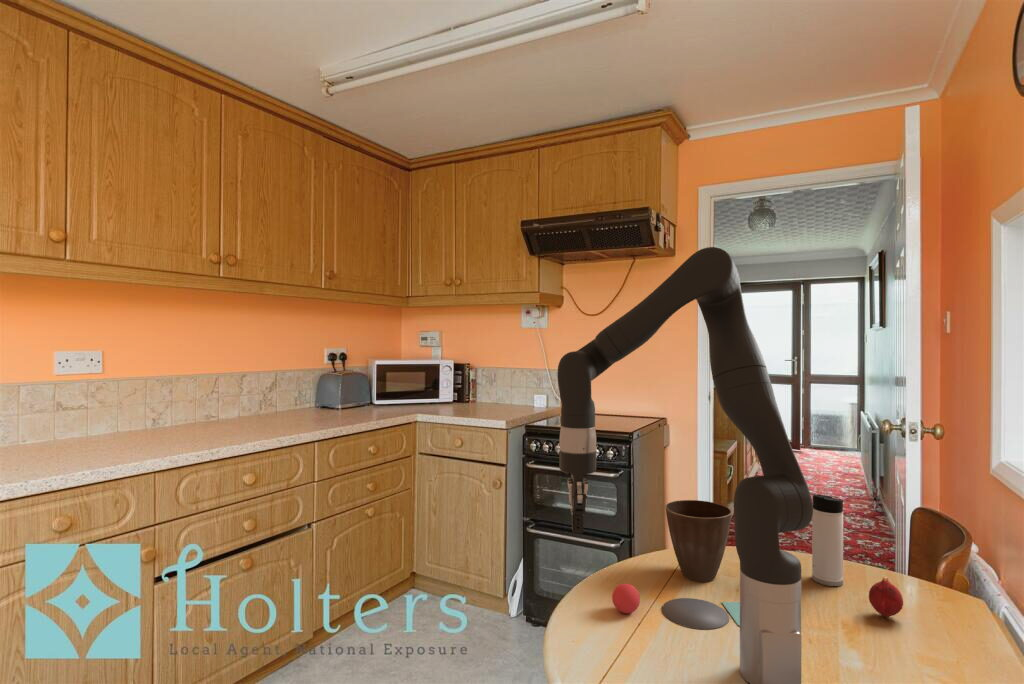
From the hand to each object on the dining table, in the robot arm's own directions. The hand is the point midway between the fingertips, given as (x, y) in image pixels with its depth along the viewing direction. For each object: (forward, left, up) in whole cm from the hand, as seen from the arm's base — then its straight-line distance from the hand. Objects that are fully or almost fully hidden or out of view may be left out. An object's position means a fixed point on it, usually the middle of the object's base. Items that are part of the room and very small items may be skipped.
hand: (577, 532), depth 117 cm
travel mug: (+17, -59, -16) cm, 63 cm away
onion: (0, -62, -16) cm, 64 cm away
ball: (0, -10, -13) cm, 17 cm away
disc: (0, -24, -16) cm, 29 cm away
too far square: (0, -36, -16) cm, 39 cm away
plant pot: (+19, -30, -16) cm, 39 cm away
